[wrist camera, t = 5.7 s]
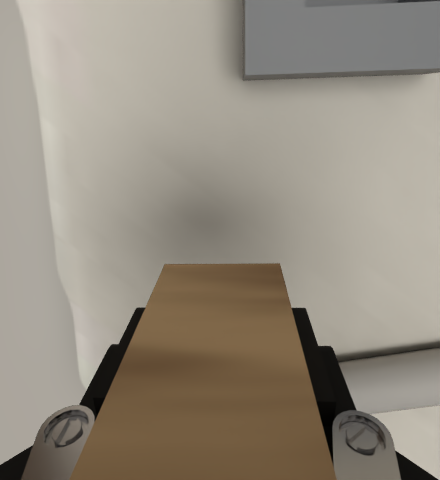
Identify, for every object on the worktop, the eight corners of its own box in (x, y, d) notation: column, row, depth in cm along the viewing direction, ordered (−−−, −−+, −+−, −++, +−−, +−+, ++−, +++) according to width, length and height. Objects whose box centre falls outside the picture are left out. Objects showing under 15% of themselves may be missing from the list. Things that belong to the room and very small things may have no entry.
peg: (275, 355, 14) (346, 817, 5) (174, 354, 15) (65, 793, 5) (279, 263, 13) (396, 705, 3) (164, 264, 13) (-19, 677, 4)
